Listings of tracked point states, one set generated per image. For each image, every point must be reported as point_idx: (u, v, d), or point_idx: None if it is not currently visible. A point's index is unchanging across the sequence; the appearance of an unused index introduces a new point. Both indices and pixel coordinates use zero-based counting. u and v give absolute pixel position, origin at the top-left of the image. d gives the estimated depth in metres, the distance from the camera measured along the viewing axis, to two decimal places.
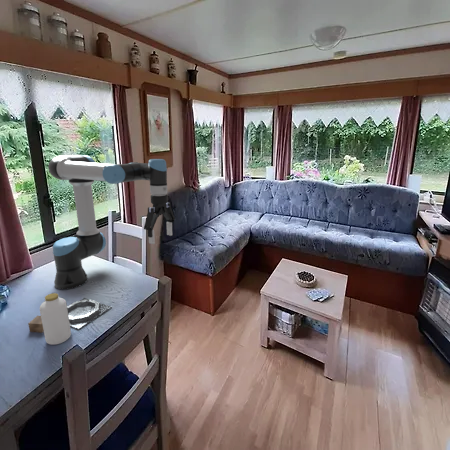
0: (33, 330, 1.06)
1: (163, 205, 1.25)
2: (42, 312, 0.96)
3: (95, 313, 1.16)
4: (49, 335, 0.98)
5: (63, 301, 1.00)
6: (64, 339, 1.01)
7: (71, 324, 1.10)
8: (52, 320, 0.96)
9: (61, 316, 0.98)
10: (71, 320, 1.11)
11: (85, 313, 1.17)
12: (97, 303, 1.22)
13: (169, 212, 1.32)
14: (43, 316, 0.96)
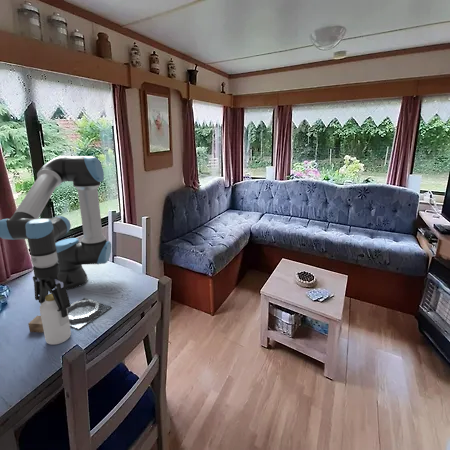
0: (33, 330, 1.06)
1: (48, 278, 0.94)
2: (42, 312, 0.96)
3: (95, 313, 1.16)
4: (49, 335, 0.98)
5: None
6: (64, 339, 1.01)
7: (71, 324, 1.10)
8: (52, 320, 0.96)
9: None
10: (71, 320, 1.11)
11: (85, 313, 1.17)
12: (97, 303, 1.22)
13: None
14: (43, 316, 0.96)
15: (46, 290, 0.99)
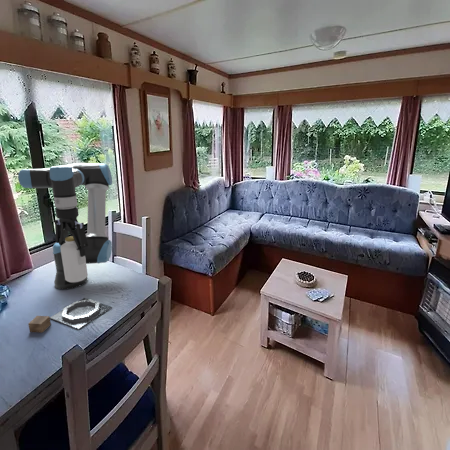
0: (33, 330, 1.06)
1: (68, 220, 1.05)
2: (63, 251, 1.06)
3: (95, 313, 1.16)
4: (69, 273, 1.09)
5: None
6: (82, 278, 1.11)
7: (71, 324, 1.10)
8: (72, 258, 1.07)
9: None
10: (71, 320, 1.11)
11: (85, 313, 1.17)
12: (97, 303, 1.22)
13: None
14: (64, 255, 1.07)
15: (66, 233, 1.10)
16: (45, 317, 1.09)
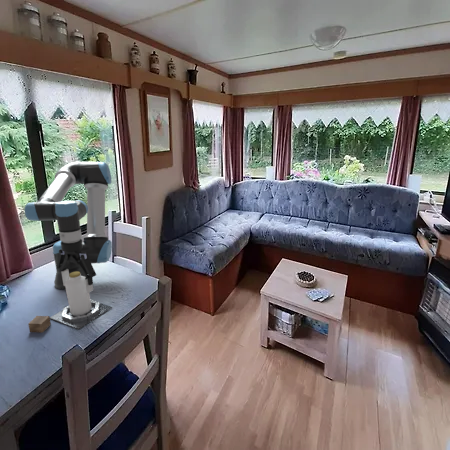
0: (33, 330, 1.06)
1: (73, 253, 1.09)
2: (67, 287, 1.11)
3: (95, 313, 1.16)
4: (73, 307, 1.13)
5: (84, 278, 1.15)
6: (86, 311, 1.16)
7: (71, 324, 1.10)
8: (76, 294, 1.12)
9: (83, 291, 1.14)
10: (71, 320, 1.11)
11: None
12: (97, 303, 1.22)
13: None
14: (68, 290, 1.11)
15: (68, 262, 1.14)
16: (45, 317, 1.09)
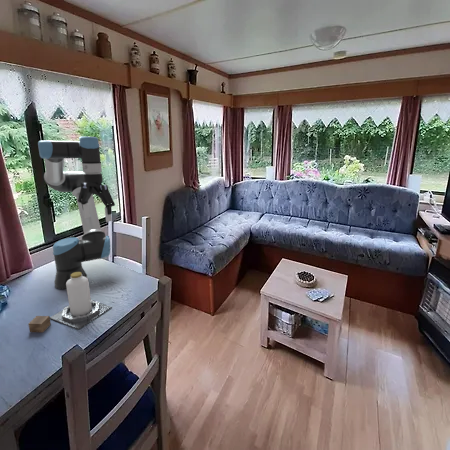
0: (33, 330, 1.06)
1: (94, 185, 1.21)
2: (68, 287, 1.11)
3: (95, 313, 1.16)
4: (74, 308, 1.13)
5: (86, 279, 1.15)
6: (86, 312, 1.16)
7: (71, 324, 1.10)
8: (77, 294, 1.12)
9: (84, 291, 1.14)
10: (71, 320, 1.11)
11: None
12: (97, 303, 1.22)
13: None
14: (69, 291, 1.11)
15: (89, 195, 1.26)
16: (45, 317, 1.09)
